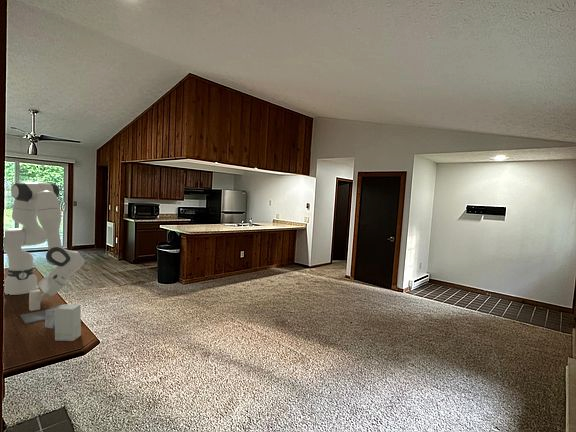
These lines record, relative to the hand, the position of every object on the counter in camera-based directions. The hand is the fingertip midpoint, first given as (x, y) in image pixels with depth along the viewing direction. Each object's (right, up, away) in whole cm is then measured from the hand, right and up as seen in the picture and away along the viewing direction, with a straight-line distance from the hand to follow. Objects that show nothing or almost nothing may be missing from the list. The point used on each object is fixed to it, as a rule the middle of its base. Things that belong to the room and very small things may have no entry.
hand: (35, 297), depth 167 cm
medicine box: (+23, -9, -15) cm, 29 cm away
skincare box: (+36, -11, -27) cm, 46 cm away
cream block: (-1, -6, 0) cm, 6 cm away
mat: (+9, -7, -8) cm, 14 cm away
